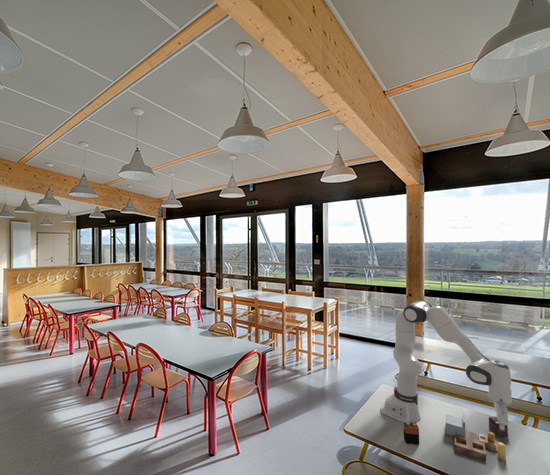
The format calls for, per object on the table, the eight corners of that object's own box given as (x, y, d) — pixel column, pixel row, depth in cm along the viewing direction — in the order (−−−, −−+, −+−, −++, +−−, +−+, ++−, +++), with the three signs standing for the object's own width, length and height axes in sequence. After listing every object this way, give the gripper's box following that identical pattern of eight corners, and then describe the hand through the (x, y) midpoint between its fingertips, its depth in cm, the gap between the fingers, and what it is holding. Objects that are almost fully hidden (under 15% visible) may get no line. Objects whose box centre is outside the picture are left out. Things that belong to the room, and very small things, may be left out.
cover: (445, 433, 155) (445, 417, 155) (446, 424, 162) (445, 408, 162) (465, 439, 150) (465, 422, 150) (465, 429, 157) (464, 413, 157)
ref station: (444, 436, 154) (444, 425, 154) (445, 425, 163) (445, 415, 163) (500, 453, 142) (500, 441, 142) (497, 441, 150) (497, 430, 150)
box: (499, 429, 159) (498, 416, 159) (508, 436, 153) (507, 423, 153) (488, 429, 159) (488, 416, 159) (497, 437, 153) (497, 423, 153)
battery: (403, 438, 153) (403, 419, 153) (416, 439, 152) (416, 421, 152) (405, 444, 149) (405, 425, 149) (419, 445, 148) (419, 426, 148)
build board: (454, 450, 144) (454, 444, 144) (454, 439, 152) (454, 434, 152) (486, 460, 137) (486, 454, 137) (484, 449, 145) (484, 443, 145)
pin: (498, 459, 138) (497, 445, 138) (497, 455, 140) (497, 441, 140) (506, 461, 136) (505, 447, 136) (505, 457, 139) (504, 443, 139)
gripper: (511, 408, 128) (512, 438, 128) (505, 387, 145) (505, 414, 145) (494, 403, 131) (495, 433, 131) (489, 384, 149) (490, 410, 149)
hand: (500, 423), depth 138 cm, fingers open, 8 cm apart
